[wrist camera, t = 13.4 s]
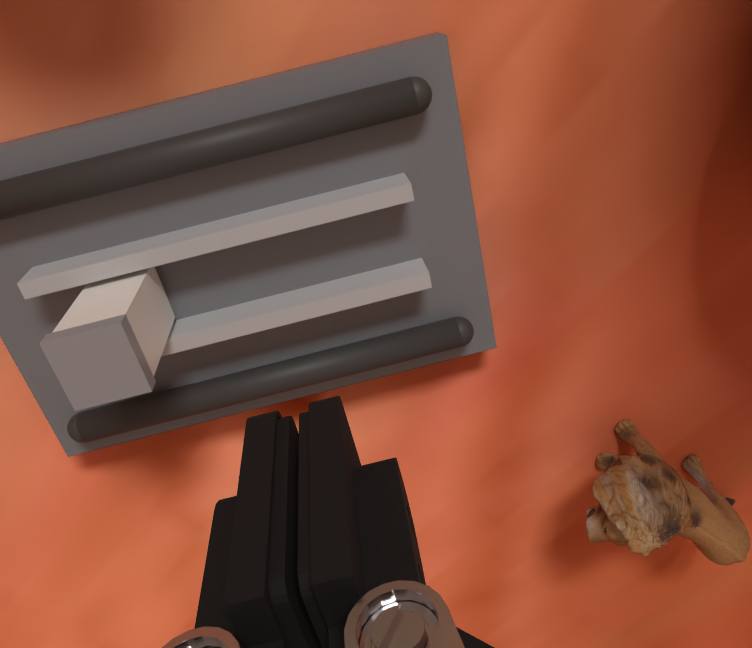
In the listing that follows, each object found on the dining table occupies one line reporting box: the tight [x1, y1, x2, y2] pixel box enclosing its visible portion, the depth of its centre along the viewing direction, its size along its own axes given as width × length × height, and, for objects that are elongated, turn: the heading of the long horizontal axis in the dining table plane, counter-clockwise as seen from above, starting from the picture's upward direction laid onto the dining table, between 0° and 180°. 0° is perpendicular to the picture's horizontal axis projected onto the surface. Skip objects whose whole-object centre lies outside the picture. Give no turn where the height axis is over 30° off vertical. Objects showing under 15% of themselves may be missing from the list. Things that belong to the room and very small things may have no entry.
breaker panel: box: [0, 32, 497, 457], centre depth 32 cm, size 24×16×4 cm, turn 103°
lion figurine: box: [586, 420, 750, 565], centre depth 40 cm, size 15×5×9 cm, turn 64°
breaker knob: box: [39, 267, 175, 411], centre depth 29 cm, size 3×3×7 cm
